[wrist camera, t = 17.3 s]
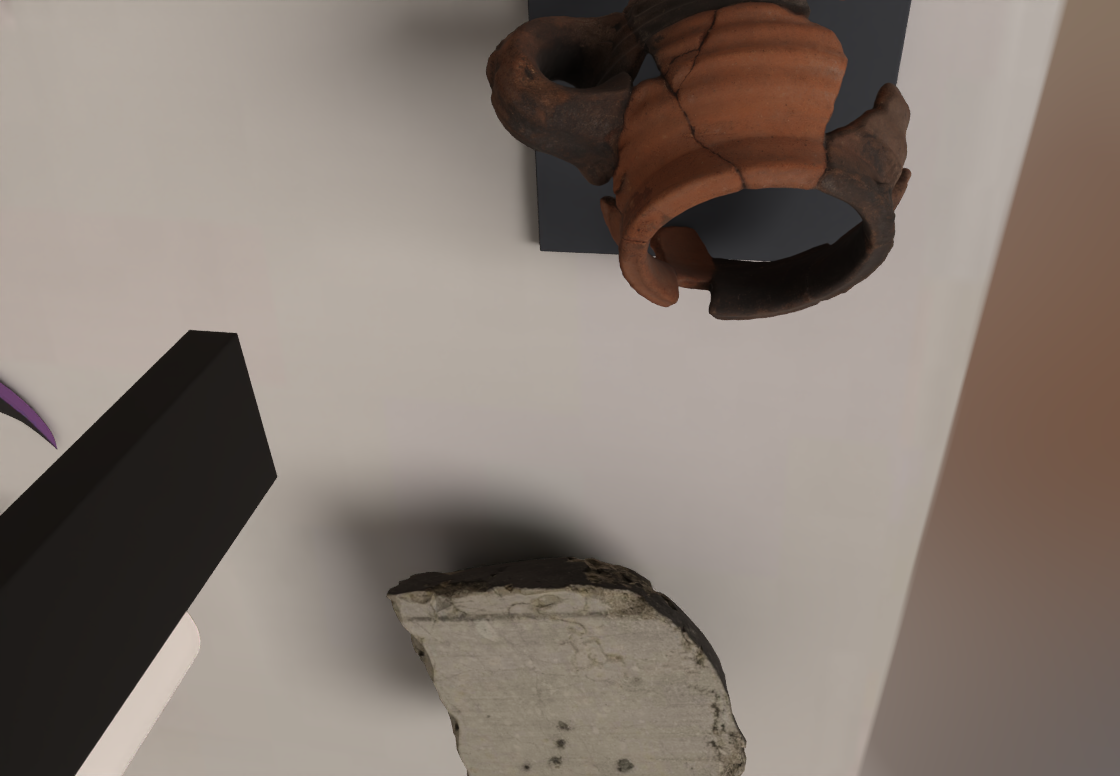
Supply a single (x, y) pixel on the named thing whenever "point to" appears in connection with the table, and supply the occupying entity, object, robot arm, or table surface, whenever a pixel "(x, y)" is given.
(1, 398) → the knife
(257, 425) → the robot arm
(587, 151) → the pottery mug
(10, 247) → the table surface
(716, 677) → the concrete fragment
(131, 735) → the mug
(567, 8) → the mat
